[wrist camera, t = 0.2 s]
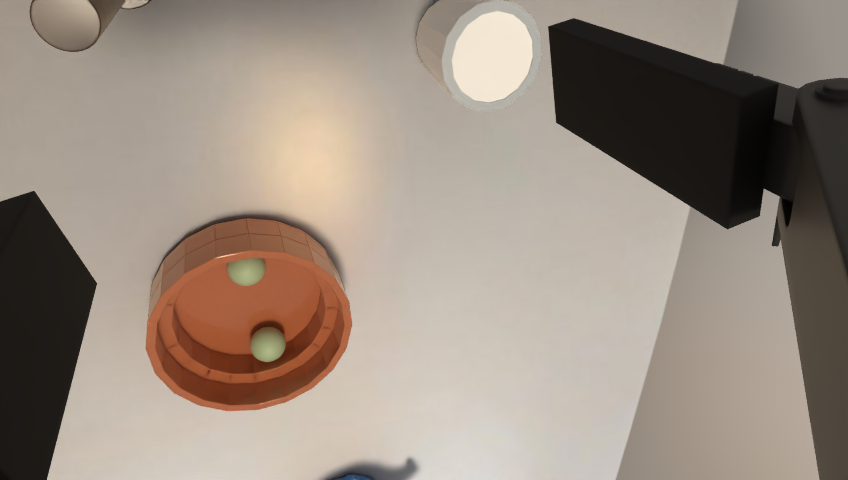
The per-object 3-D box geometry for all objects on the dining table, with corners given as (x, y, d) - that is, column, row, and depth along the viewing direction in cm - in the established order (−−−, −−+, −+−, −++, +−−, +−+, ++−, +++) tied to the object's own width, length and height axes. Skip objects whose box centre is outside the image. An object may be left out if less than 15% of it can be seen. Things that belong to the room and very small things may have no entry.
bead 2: (257, 316, 47) (261, 337, 45) (289, 325, 48) (294, 346, 46) (242, 342, 48) (245, 364, 45) (274, 350, 49) (278, 372, 47)
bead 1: (235, 236, 43) (237, 255, 41) (270, 248, 44) (274, 267, 42) (219, 266, 44) (220, 286, 41) (254, 277, 45) (257, 297, 43)
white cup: (448, 104, 44) (486, 133, 38) (388, 38, 40) (419, 61, 35) (513, 36, 43) (562, 57, 37) (457, -37, 39) (502, -27, 34)
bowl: (197, 186, 41) (198, 221, 36) (367, 252, 48) (384, 288, 44) (122, 340, 45) (113, 389, 40) (289, 379, 52) (298, 425, 47)
